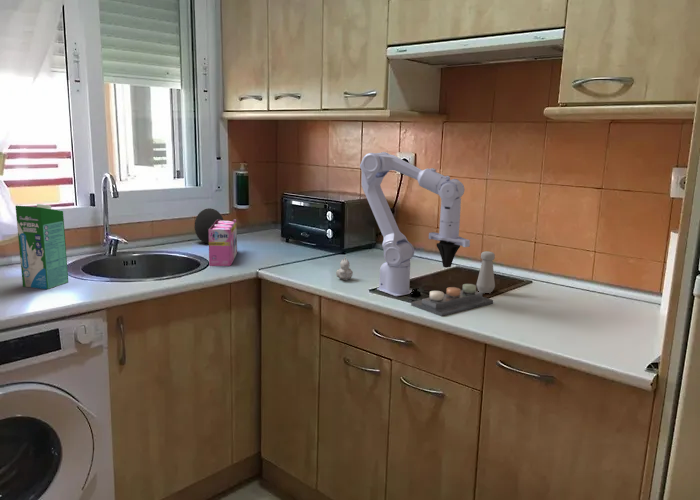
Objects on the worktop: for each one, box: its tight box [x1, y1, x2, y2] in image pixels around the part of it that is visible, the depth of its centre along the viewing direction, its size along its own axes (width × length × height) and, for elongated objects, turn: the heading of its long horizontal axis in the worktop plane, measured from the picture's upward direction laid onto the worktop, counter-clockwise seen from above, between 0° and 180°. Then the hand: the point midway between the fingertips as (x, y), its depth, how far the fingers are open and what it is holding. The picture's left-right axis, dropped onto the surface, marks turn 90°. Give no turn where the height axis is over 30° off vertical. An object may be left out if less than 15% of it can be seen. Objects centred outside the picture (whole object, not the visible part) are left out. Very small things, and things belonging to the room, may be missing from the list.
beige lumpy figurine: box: [336, 256, 354, 281], centre depth 195 cm, size 5×7×8 cm
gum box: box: [208, 219, 238, 267], centre depth 221 cm, size 24×8×14 cm, turn 5°
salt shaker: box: [475, 250, 496, 294], centre depth 185 cm, size 6×6×13 cm
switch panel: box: [410, 289, 494, 317], centre depth 171 cm, size 12×22×3 cm, turn 128°
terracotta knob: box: [445, 286, 461, 298], centre depth 171 cm, size 4×4×4 cm
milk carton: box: [15, 203, 69, 290], centre depth 179 cm, size 9×9×25 cm
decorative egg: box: [194, 208, 225, 245], centre depth 248 cm, size 12×12×15 cm
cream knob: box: [428, 290, 445, 302], centre depth 167 cm, size 4×4×4 cm
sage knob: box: [461, 283, 477, 294], centre depth 175 cm, size 4×4×4 cm
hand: (446, 266), depth 173 cm, fingers closed
